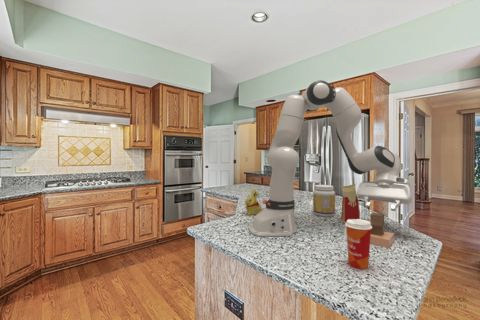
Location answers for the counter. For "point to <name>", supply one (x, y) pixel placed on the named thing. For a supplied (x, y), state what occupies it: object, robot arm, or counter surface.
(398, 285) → the counter surface
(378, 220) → the walnut block
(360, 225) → the paper cup
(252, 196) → the chocolate bunny
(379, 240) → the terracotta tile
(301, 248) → the counter surface
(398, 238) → the counter surface
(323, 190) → the supplement tub
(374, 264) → the counter surface
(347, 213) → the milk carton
